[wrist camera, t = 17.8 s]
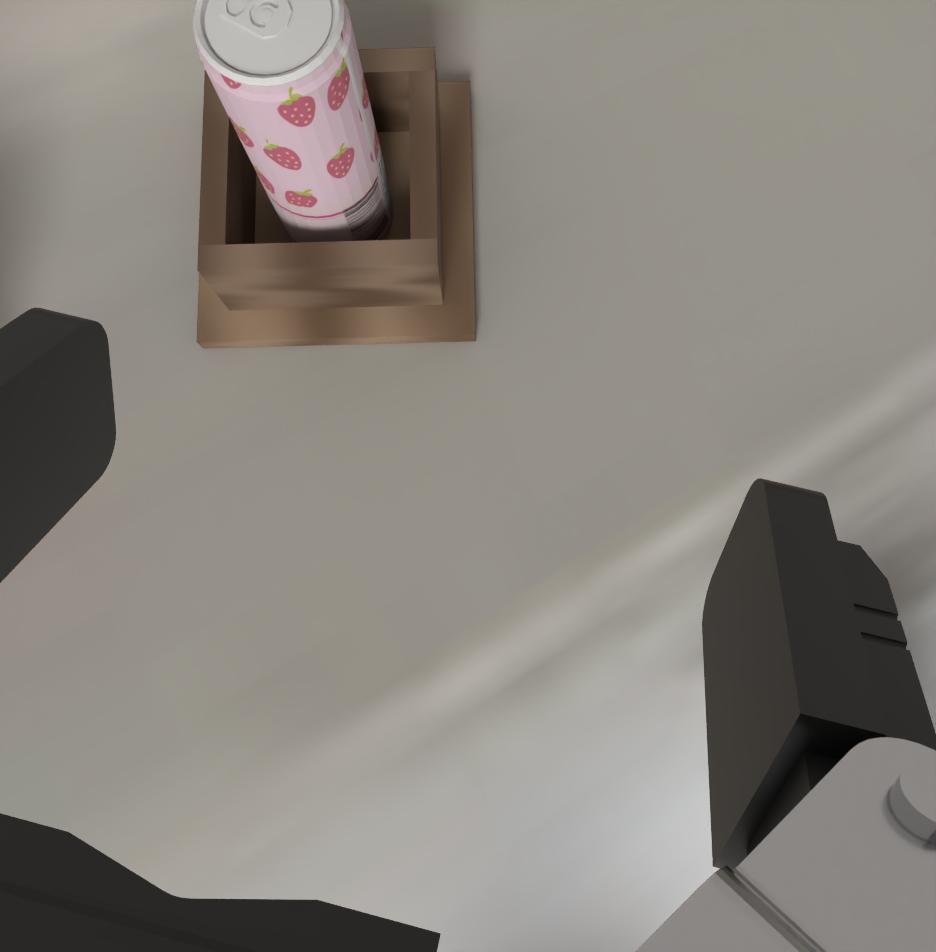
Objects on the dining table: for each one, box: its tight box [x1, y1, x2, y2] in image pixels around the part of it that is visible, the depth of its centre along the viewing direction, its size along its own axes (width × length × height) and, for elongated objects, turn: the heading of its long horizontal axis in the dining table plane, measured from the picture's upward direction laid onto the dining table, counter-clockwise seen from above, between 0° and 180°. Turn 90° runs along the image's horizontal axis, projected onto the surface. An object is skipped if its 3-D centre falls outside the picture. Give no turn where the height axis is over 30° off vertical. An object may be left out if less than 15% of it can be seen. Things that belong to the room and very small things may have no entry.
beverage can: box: [193, 0, 393, 243], centre depth 38 cm, size 6×6×15 cm
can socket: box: [197, 47, 476, 348], centre depth 44 cm, size 14×14×6 cm
